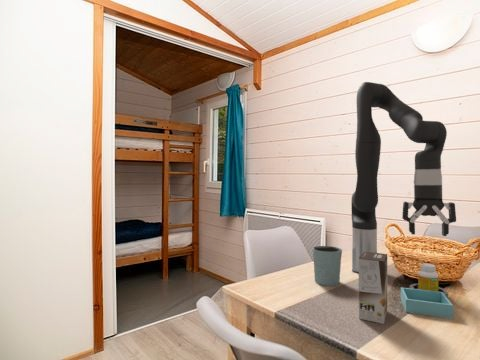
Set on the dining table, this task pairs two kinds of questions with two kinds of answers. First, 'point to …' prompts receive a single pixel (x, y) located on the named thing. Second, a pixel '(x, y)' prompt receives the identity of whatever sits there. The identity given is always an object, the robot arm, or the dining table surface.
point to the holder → (415, 286)
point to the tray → (426, 302)
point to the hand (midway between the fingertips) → (428, 234)
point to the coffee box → (373, 287)
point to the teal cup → (327, 265)
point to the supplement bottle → (428, 278)
